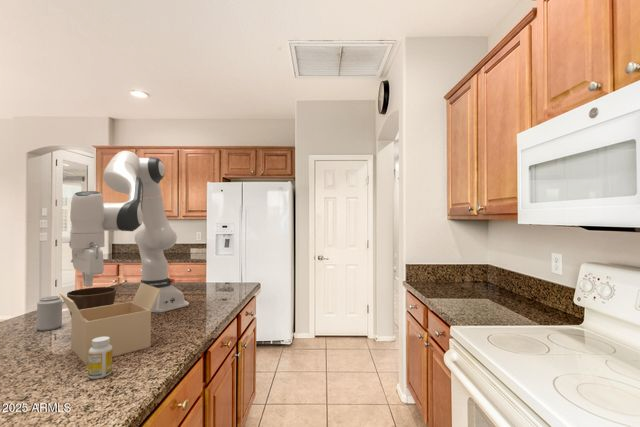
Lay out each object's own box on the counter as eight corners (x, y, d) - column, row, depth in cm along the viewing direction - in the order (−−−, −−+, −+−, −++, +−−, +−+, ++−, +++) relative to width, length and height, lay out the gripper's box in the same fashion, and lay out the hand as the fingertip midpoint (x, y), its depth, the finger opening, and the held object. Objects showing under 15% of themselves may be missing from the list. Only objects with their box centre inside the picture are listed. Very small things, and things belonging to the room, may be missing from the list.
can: (47, 332, 124) (48, 299, 124) (31, 330, 125) (32, 299, 126) (66, 326, 131) (67, 295, 132) (51, 324, 133) (51, 294, 133)
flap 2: (132, 301, 121) (133, 301, 122) (150, 309, 110) (151, 309, 110) (141, 282, 124) (142, 283, 124) (159, 288, 112) (161, 289, 113)
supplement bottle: (91, 381, 86) (92, 344, 86) (85, 375, 89) (85, 339, 89) (114, 374, 90) (115, 338, 90) (107, 368, 93) (108, 334, 93)
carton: (131, 334, 121) (131, 301, 122) (150, 346, 109) (151, 310, 110) (70, 348, 108) (71, 311, 109) (85, 364, 96) (85, 322, 96)
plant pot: (125, 330, 126) (125, 288, 126) (88, 344, 112) (89, 296, 112) (94, 327, 130) (95, 286, 130) (55, 340, 116) (56, 294, 116)
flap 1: (85, 321, 97) (83, 322, 96) (72, 310, 108) (70, 311, 108) (73, 301, 95) (71, 302, 94) (61, 292, 106) (59, 293, 106)
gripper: (109, 243, 100) (109, 288, 100) (90, 240, 114) (90, 280, 113) (84, 244, 95) (84, 292, 95) (68, 241, 109) (68, 283, 109)
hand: (87, 286), depth 104 cm, fingers closed
